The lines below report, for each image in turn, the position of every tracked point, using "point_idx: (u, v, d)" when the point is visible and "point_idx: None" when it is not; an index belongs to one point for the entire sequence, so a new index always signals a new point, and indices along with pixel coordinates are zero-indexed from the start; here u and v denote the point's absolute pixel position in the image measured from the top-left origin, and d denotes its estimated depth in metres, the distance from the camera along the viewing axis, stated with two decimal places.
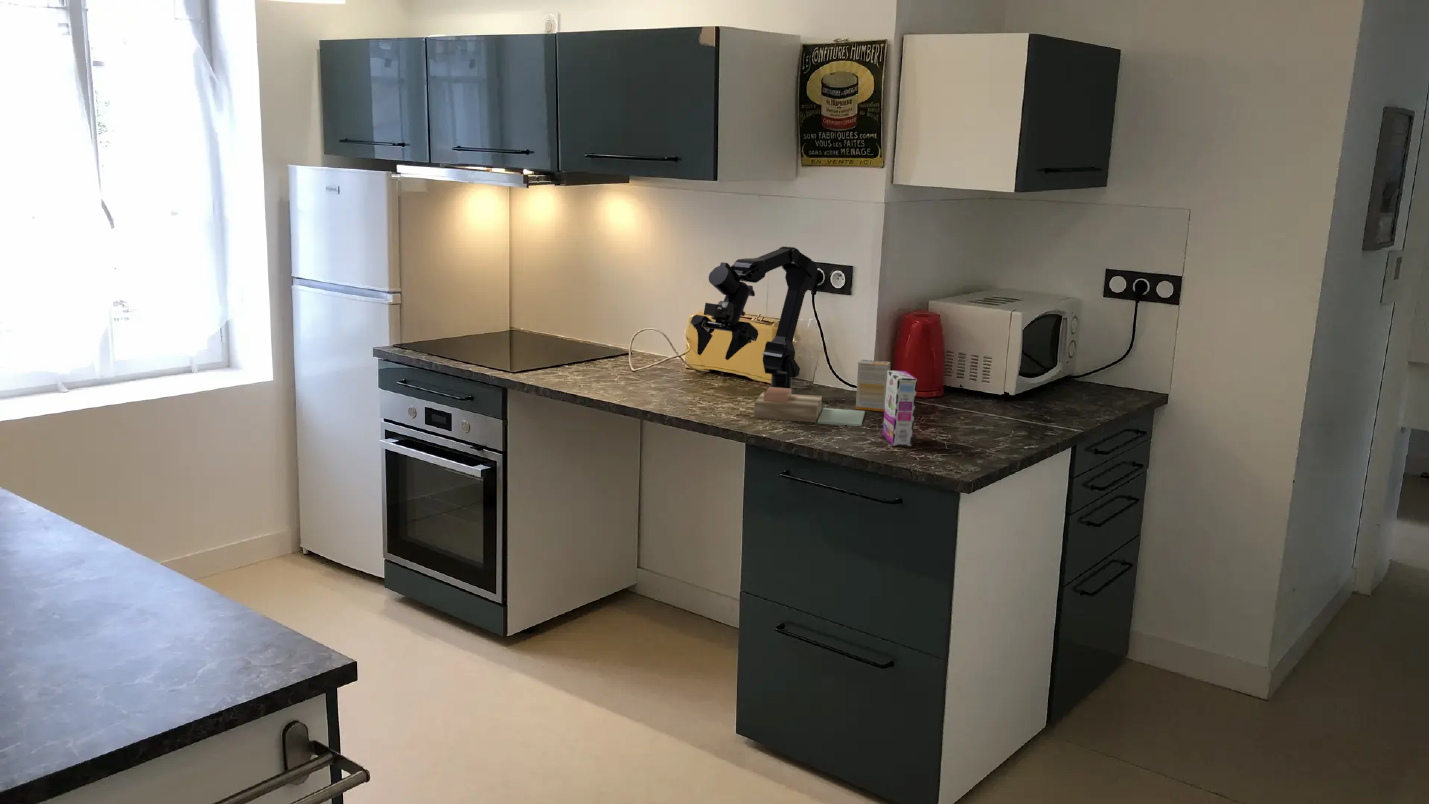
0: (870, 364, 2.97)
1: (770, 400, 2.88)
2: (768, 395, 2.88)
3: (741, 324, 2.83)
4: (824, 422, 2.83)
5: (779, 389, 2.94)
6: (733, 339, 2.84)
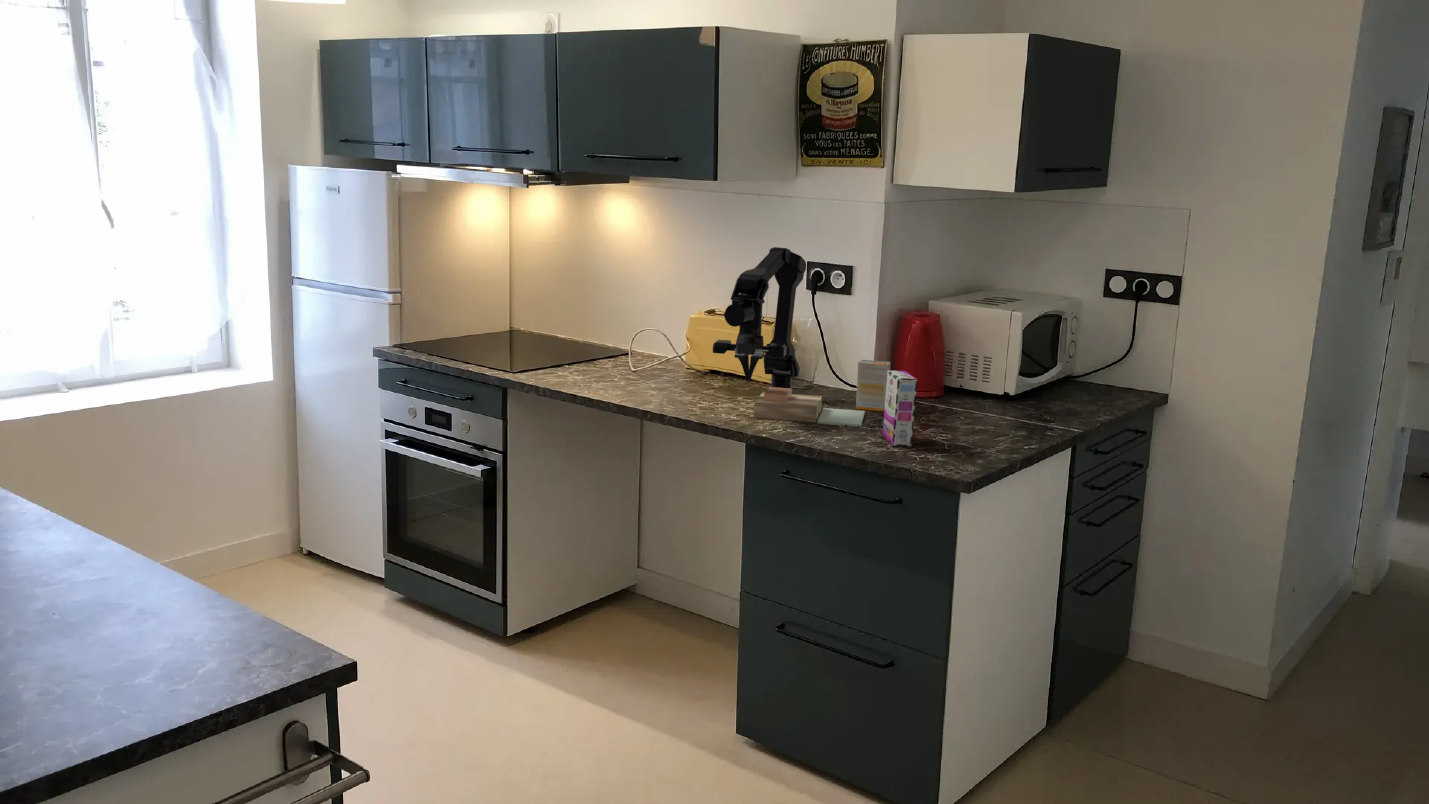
0: (870, 364, 2.97)
1: (770, 400, 2.88)
2: (768, 395, 2.88)
3: (776, 351, 2.86)
4: (824, 422, 2.83)
5: (779, 389, 2.94)
6: (752, 363, 2.90)
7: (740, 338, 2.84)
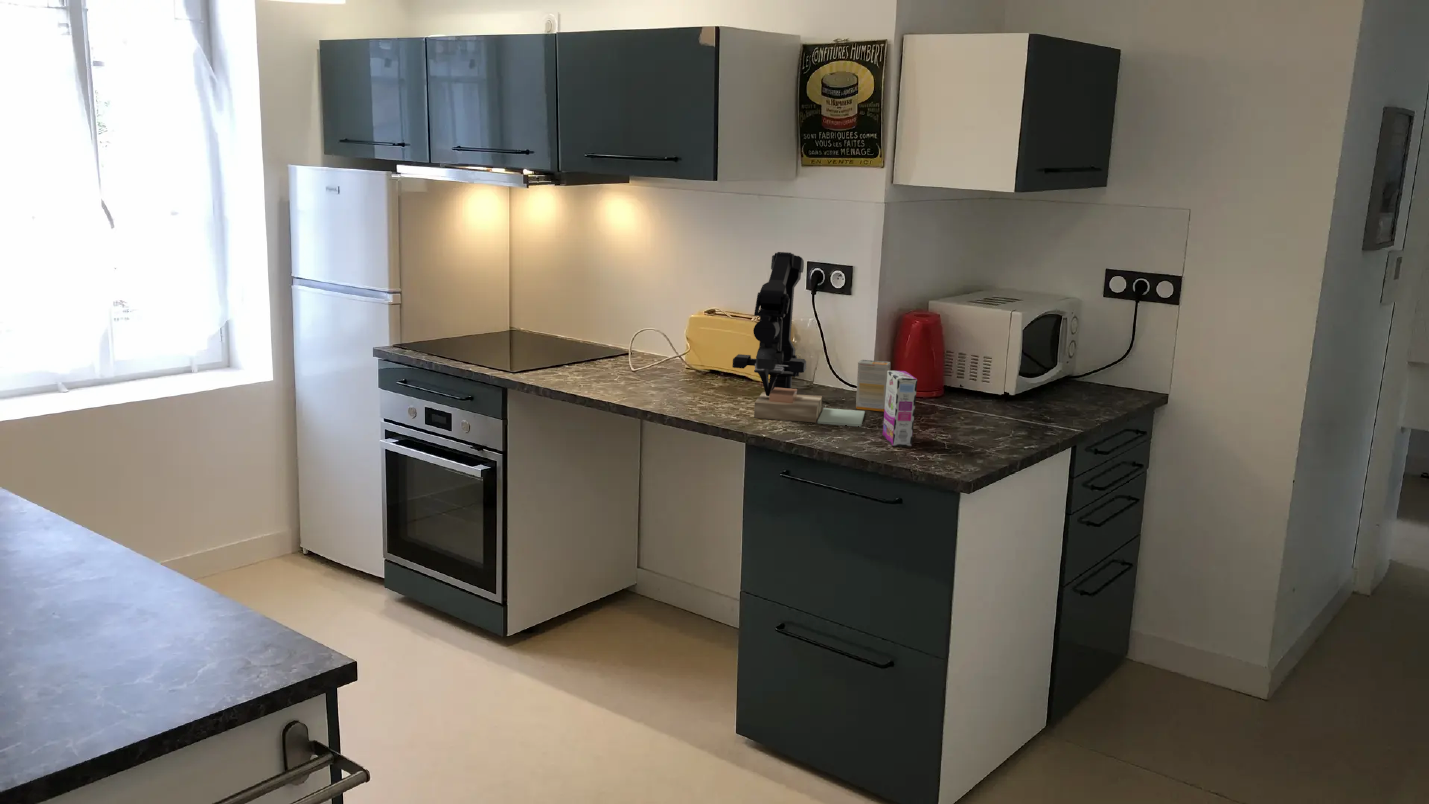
0: (870, 364, 2.97)
1: (775, 400, 2.87)
2: (773, 395, 2.87)
3: (796, 366, 2.86)
4: (824, 422, 2.83)
5: (785, 389, 2.93)
6: (772, 378, 2.89)
7: (760, 353, 2.84)
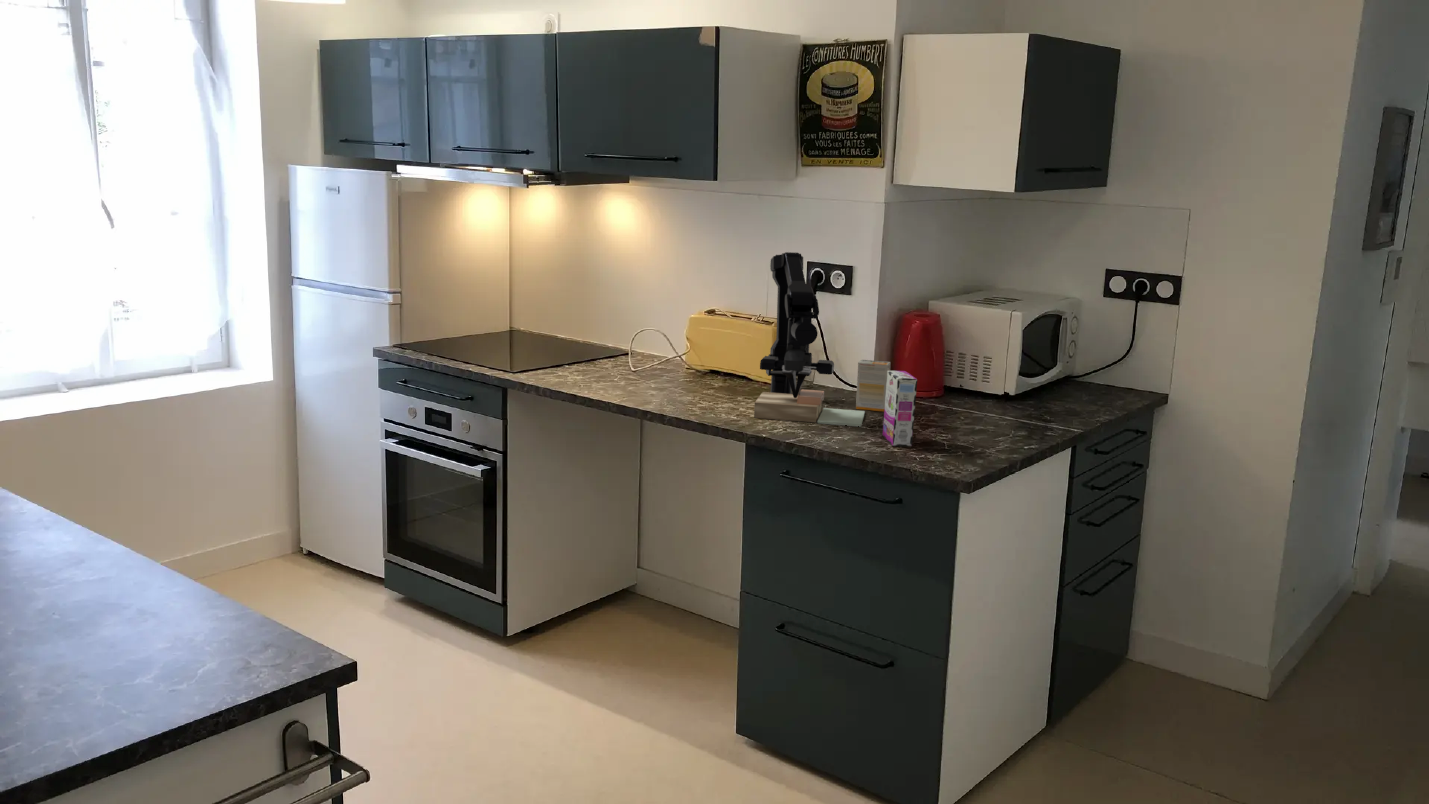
0: (870, 364, 2.97)
1: (803, 403, 2.86)
2: (801, 398, 2.86)
3: (824, 368, 2.85)
4: (824, 422, 2.83)
5: (812, 391, 2.92)
6: (799, 379, 2.88)
7: (788, 355, 2.83)
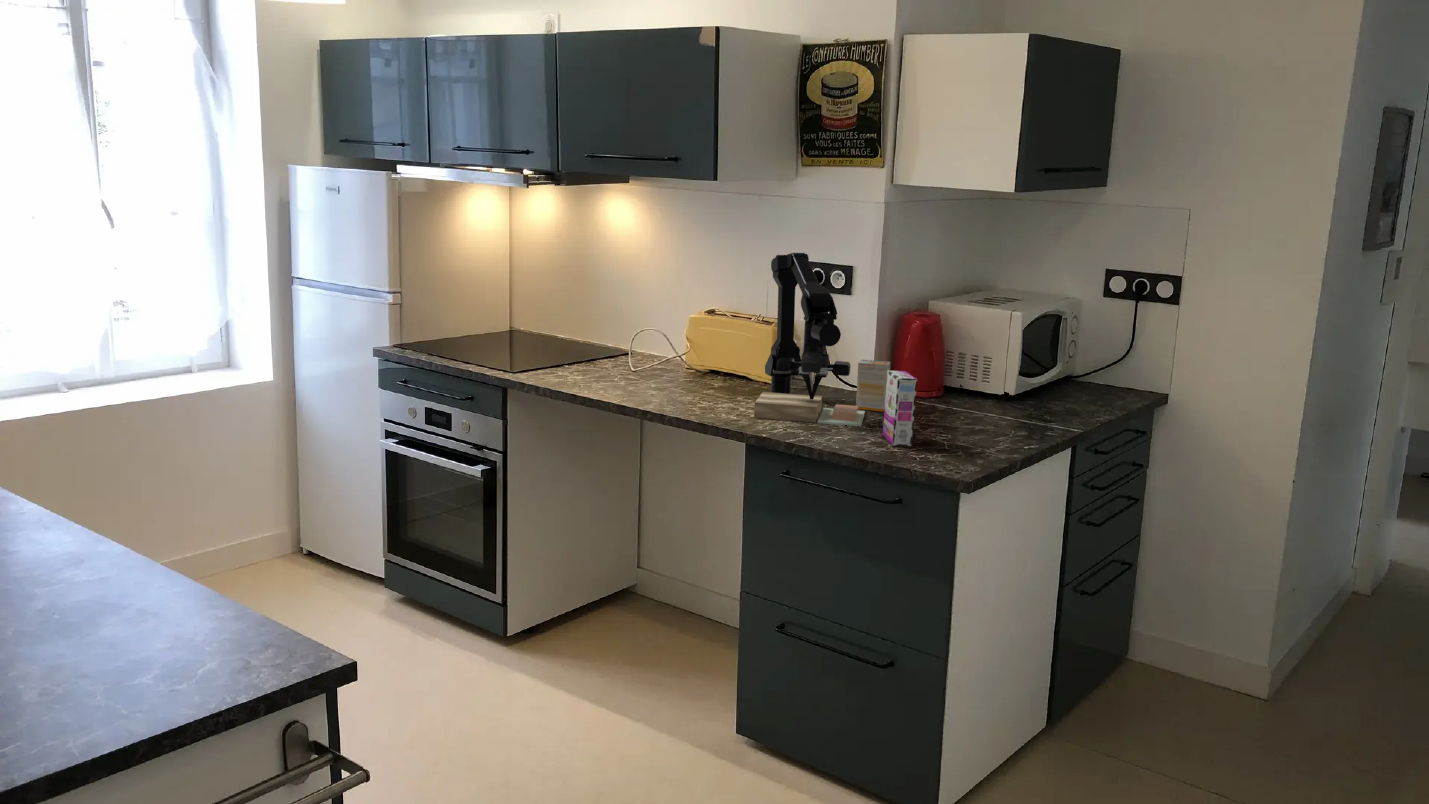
0: (870, 364, 2.97)
1: (849, 413, 2.84)
2: (851, 418, 2.85)
3: (841, 369, 2.84)
4: (824, 422, 2.83)
5: None
6: (816, 381, 2.87)
7: (805, 356, 2.82)
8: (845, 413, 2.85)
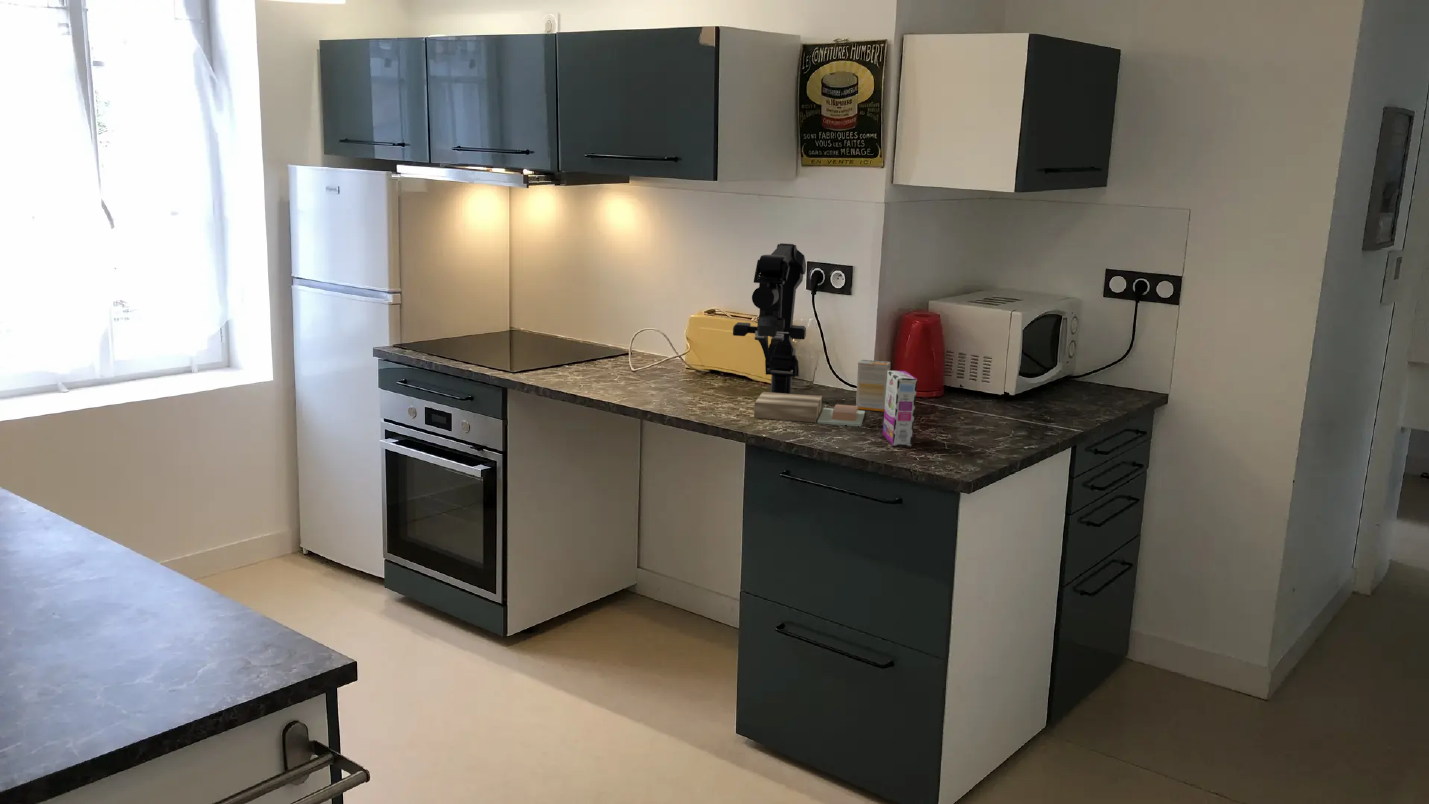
0: (870, 364, 2.97)
1: (849, 413, 2.84)
2: (851, 418, 2.85)
3: (796, 333, 2.87)
4: (824, 422, 2.83)
5: None
6: (772, 345, 2.90)
7: (761, 320, 2.85)
8: (845, 413, 2.85)
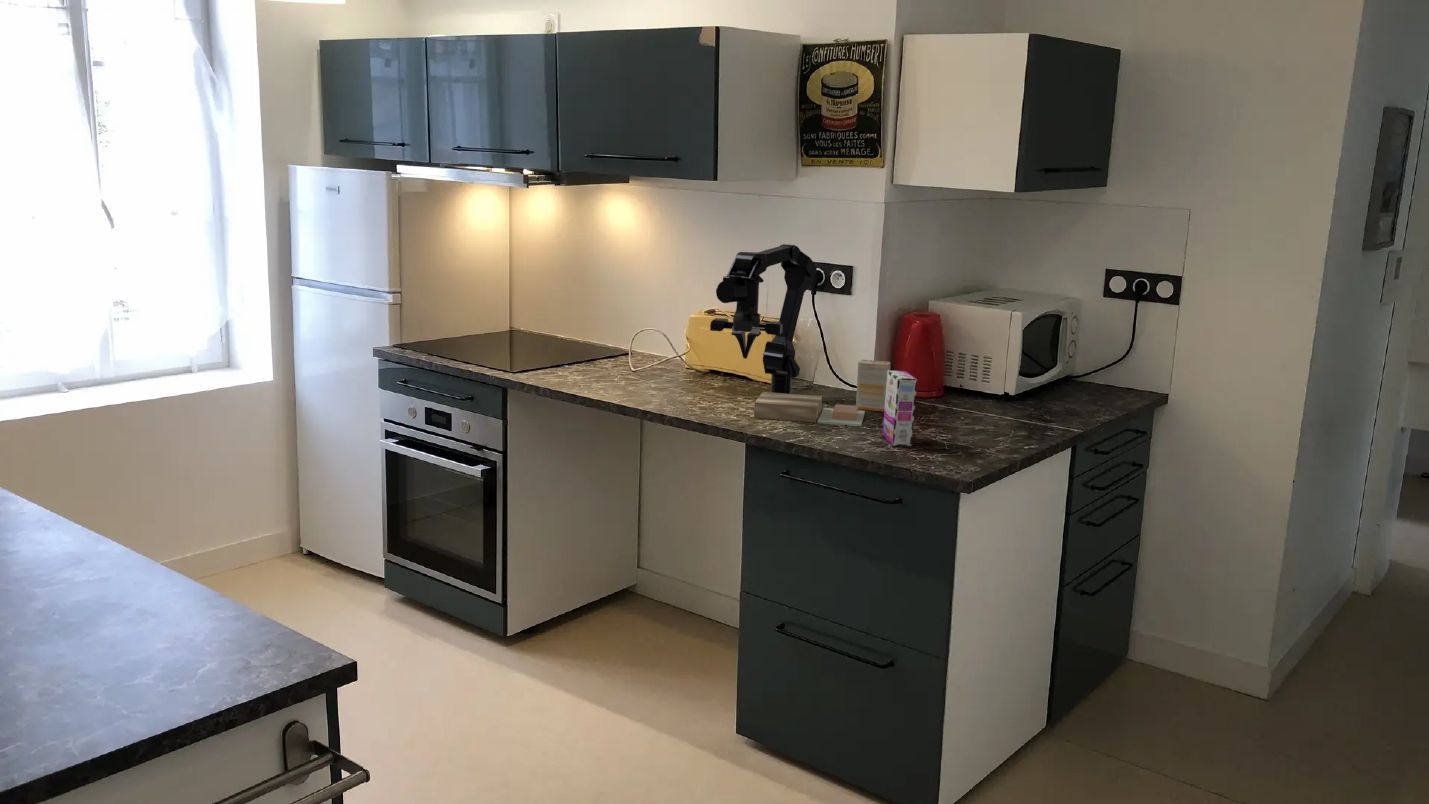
0: (870, 364, 2.97)
1: (849, 413, 2.84)
2: (851, 418, 2.85)
3: (772, 328, 2.91)
4: (824, 422, 2.83)
5: None
6: (749, 340, 2.95)
7: (737, 315, 2.89)
8: (845, 413, 2.85)
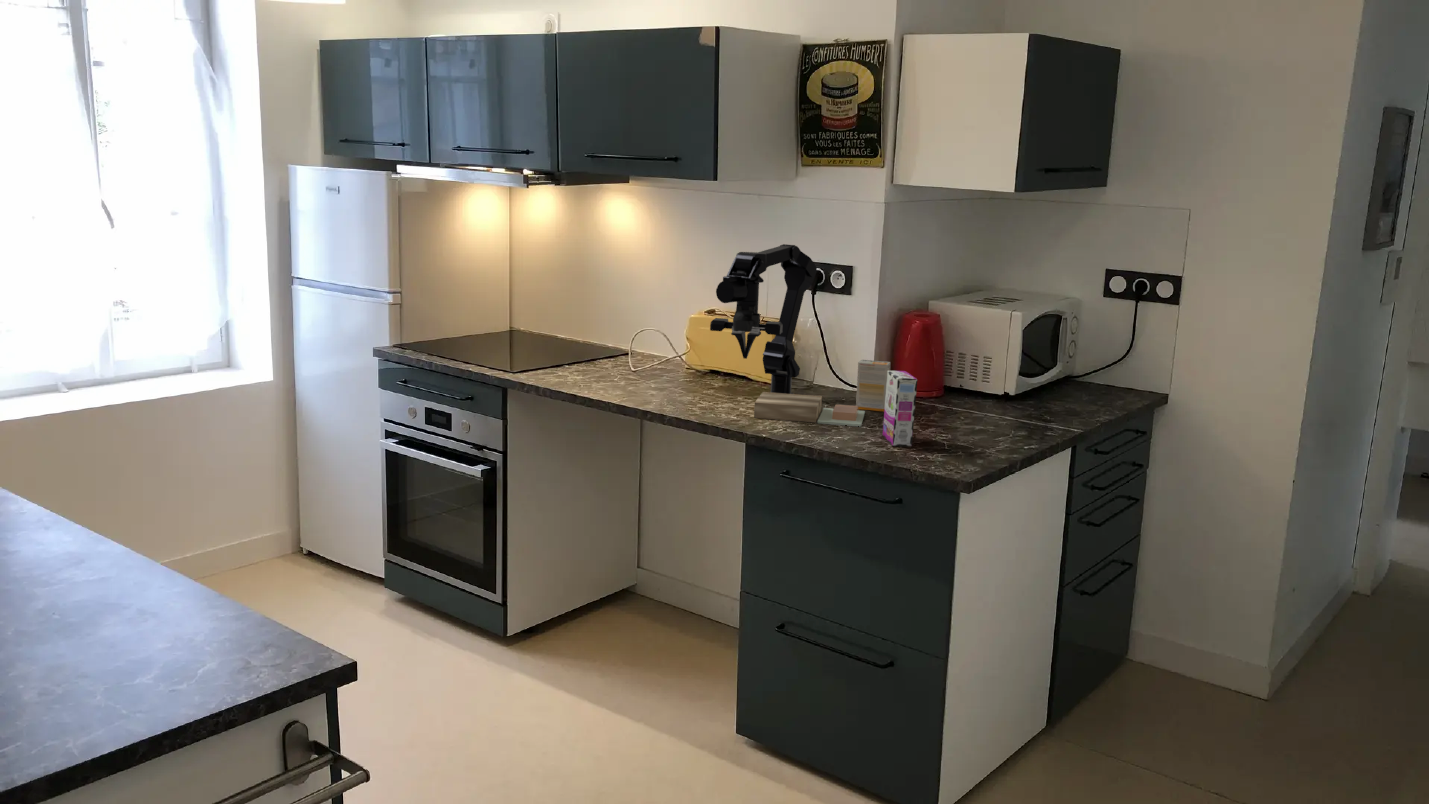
0: (870, 364, 2.97)
1: (849, 413, 2.84)
2: (851, 418, 2.85)
3: (772, 328, 2.91)
4: (824, 422, 2.83)
5: None
6: (749, 340, 2.95)
7: (737, 315, 2.89)
8: (845, 413, 2.85)
